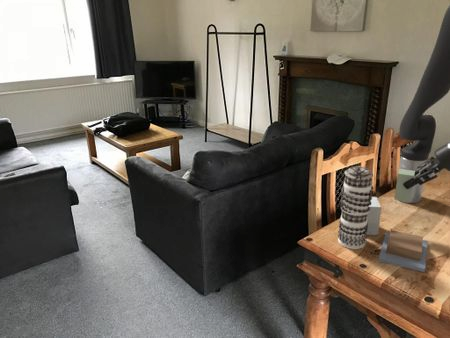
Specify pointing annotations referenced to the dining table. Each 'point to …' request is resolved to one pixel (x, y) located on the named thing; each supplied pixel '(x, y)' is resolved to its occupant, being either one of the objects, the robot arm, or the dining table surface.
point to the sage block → (401, 191)
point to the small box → (373, 217)
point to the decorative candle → (355, 207)
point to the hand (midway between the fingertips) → (405, 183)
